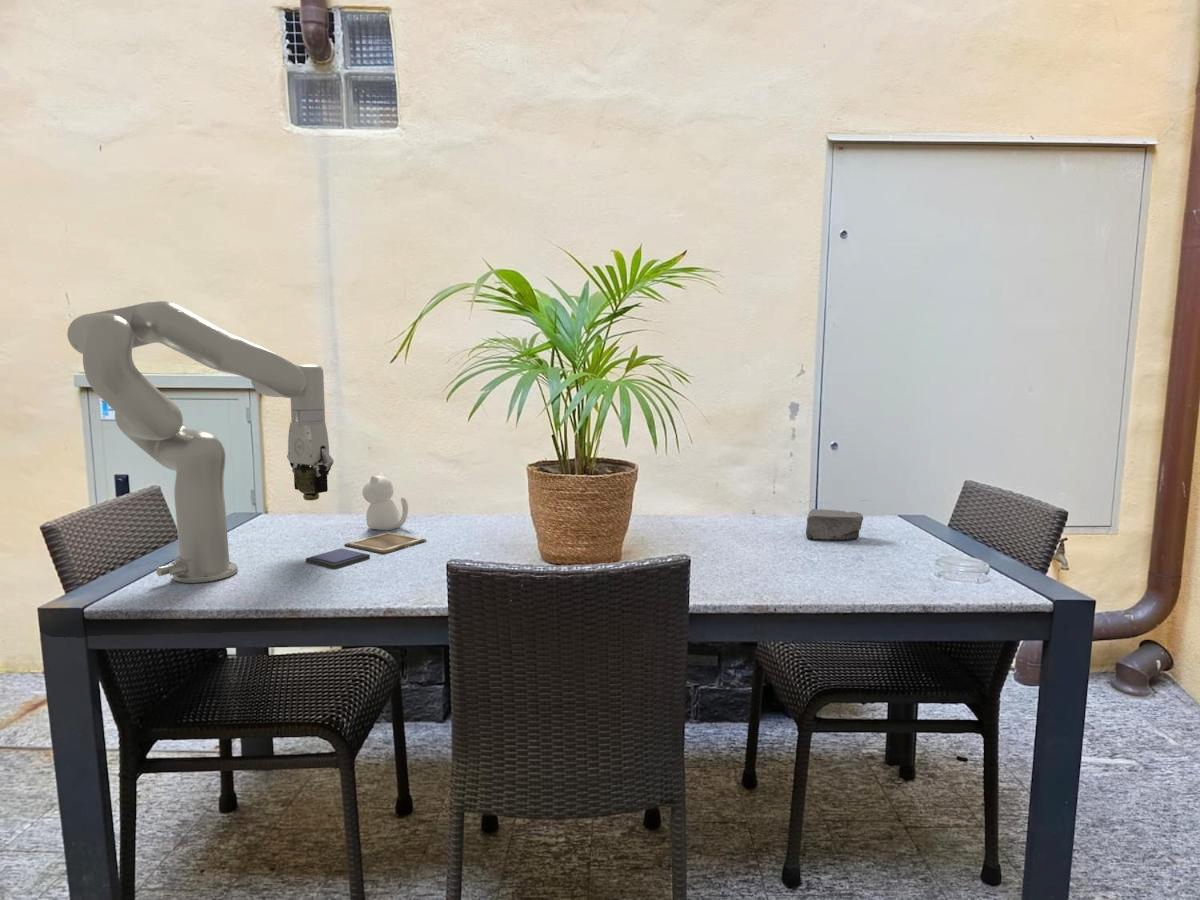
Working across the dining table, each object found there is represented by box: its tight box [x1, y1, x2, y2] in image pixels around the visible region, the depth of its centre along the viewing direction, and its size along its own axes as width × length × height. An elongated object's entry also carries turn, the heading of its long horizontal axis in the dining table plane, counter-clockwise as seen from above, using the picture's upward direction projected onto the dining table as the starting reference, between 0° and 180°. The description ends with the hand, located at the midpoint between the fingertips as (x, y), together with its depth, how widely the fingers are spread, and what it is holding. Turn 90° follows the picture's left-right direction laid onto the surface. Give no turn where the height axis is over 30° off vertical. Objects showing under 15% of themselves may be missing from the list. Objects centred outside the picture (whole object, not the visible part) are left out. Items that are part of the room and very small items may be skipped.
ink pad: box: [305, 548, 371, 570], centre depth 180 cm, size 10×10×1 cm
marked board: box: [344, 531, 427, 555], centre depth 194 cm, size 14×14×1 cm
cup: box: [292, 465, 321, 501], centre depth 186 cm, size 8×7×8 cm
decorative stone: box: [805, 508, 864, 542], centre depth 198 cm, size 15×7×10 cm
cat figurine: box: [362, 471, 409, 531], centre depth 209 cm, size 9×12×15 cm
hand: (311, 490), depth 186 cm, fingers closed on cup, 7 cm apart
